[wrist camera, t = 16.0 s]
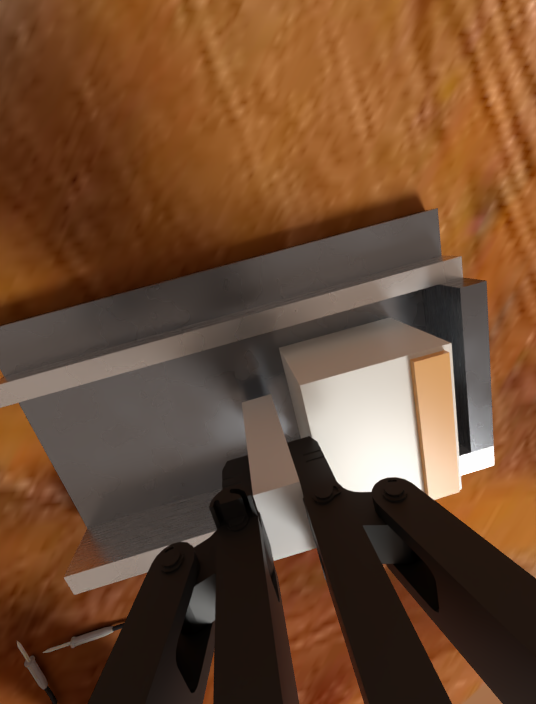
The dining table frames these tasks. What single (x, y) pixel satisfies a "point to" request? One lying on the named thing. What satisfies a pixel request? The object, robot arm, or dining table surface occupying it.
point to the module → (379, 405)
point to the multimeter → (75, 641)
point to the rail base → (220, 376)
